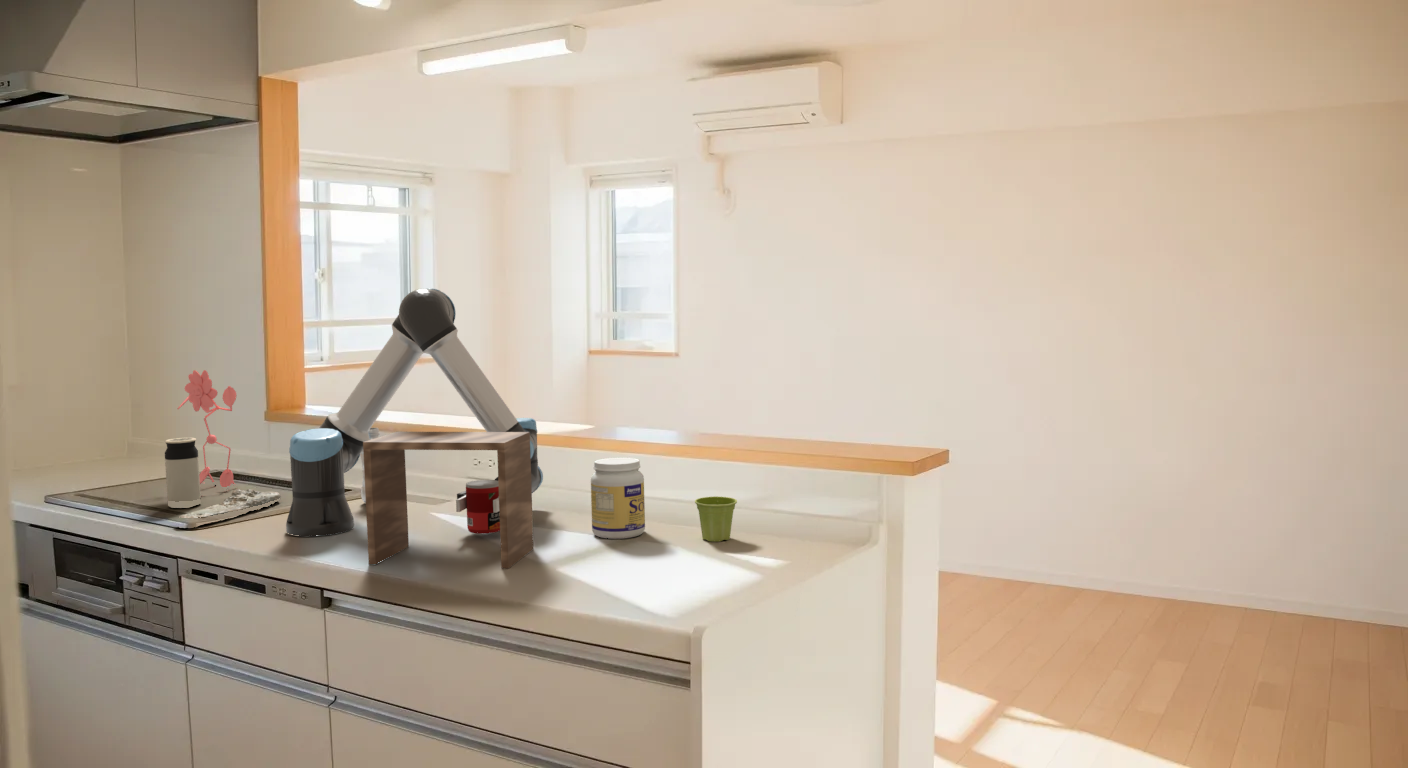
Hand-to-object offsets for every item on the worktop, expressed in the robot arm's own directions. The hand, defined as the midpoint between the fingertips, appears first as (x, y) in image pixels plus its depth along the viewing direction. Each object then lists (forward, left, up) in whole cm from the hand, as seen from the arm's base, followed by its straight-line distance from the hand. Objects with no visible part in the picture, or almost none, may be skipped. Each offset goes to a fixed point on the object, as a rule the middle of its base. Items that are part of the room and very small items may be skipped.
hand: (476, 506), depth 241 cm
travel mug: (-94, +32, -8) cm, 100 cm away
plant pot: (+53, +7, -8) cm, 54 cm away
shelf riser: (0, -14, -8) cm, 16 cm away
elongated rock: (-75, +23, -8) cm, 79 cm away
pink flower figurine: (-102, +53, -8) cm, 115 cm away
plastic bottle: (-44, +40, -8) cm, 60 cm away
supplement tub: (+30, +10, -8) cm, 33 cm away
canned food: (0, +5, -7) cm, 8 cm away
